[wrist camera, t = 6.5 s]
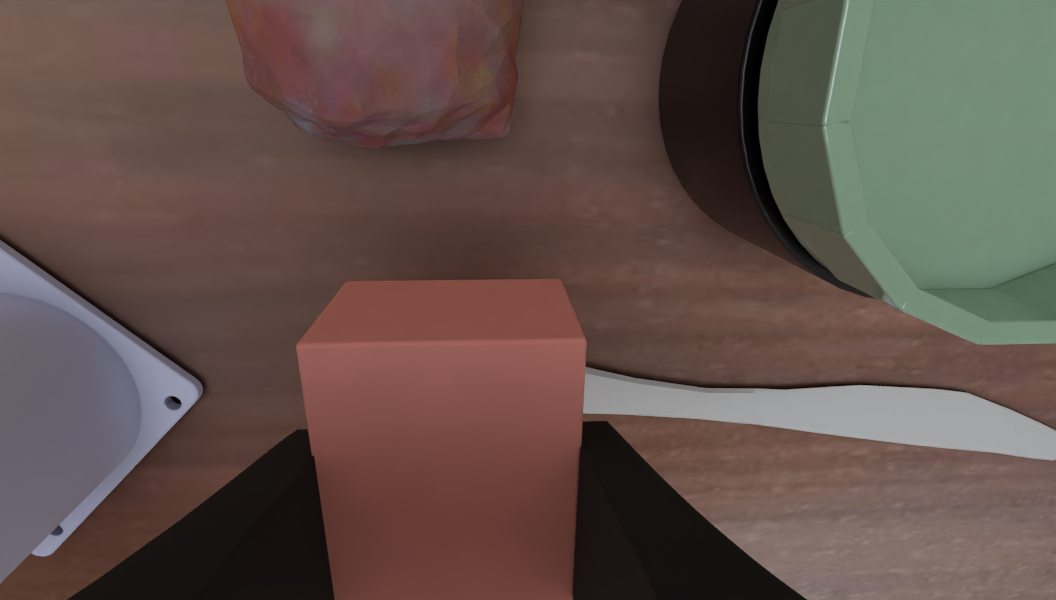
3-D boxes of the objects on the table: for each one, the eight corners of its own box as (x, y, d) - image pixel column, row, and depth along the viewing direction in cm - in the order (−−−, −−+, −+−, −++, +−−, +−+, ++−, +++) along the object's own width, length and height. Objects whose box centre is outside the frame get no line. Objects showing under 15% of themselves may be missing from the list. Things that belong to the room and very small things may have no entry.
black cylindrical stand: (783, 306, 20) (905, 389, 14) (588, 78, 16) (644, 66, 11) (1043, 87, 18) (1307, 80, 12) (878, -216, 15) (1128, -416, 9)
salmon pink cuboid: (553, 542, 11) (571, 662, 9) (373, 550, 11) (341, 676, 8) (562, 277, 9) (587, 338, 7) (344, 280, 9) (294, 344, 7)
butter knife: (389, 315, 18) (379, 399, 18) (1088, 410, 22) (1056, 476, 22) (391, 310, 18) (381, 391, 19) (1072, 403, 22) (1041, 468, 23)
